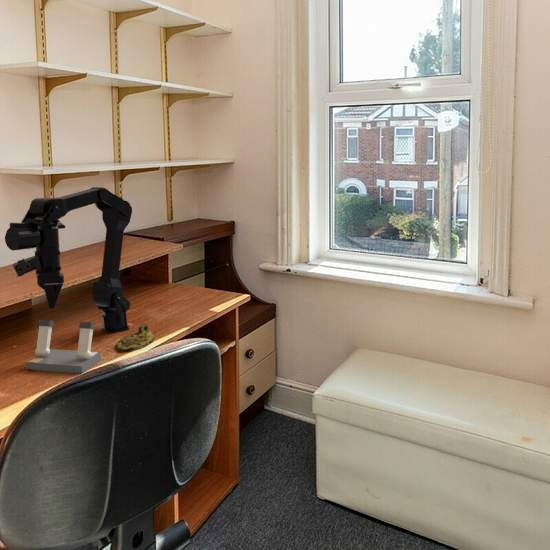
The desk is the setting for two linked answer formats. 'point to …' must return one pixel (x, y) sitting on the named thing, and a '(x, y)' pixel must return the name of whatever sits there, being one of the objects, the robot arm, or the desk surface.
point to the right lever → (85, 340)
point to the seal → (136, 339)
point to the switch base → (63, 362)
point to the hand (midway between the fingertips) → (50, 304)
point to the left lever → (44, 337)
